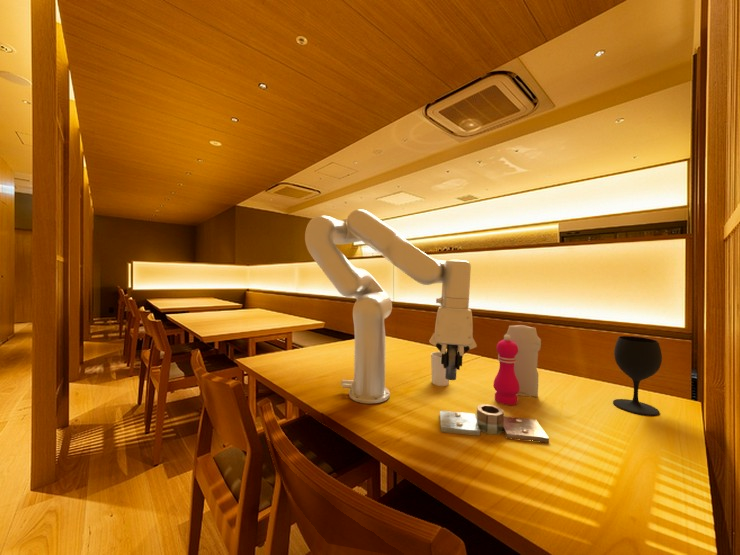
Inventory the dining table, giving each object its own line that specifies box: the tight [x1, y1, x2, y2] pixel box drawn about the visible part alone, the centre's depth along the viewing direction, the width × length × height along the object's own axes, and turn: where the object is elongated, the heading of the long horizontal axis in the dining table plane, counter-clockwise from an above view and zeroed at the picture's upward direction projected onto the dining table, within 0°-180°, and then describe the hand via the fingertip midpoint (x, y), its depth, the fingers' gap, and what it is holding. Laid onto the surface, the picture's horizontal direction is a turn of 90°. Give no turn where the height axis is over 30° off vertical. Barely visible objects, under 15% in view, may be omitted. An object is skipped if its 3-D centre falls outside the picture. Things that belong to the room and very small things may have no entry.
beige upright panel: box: [503, 324, 542, 398], centre depth 99 cm, size 11×4×22 cm, turn 62°
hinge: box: [439, 403, 550, 444], centre depth 78 cm, size 24×9×5 cm, turn 79°
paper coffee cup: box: [430, 351, 450, 387], centre depth 108 cm, size 7×7×10 cm
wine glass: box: [612, 335, 663, 417], centre depth 90 cm, size 10×10×20 cm
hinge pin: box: [445, 344, 459, 381], centre depth 89 cm, size 3×3×10 cm
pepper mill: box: [493, 334, 520, 406], centre depth 94 cm, size 7×7×20 cm
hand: (451, 367), depth 89 cm, fingers closed on hinge pin, 3 cm apart
